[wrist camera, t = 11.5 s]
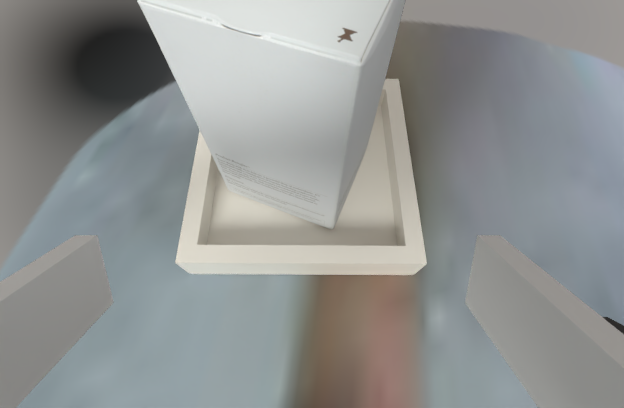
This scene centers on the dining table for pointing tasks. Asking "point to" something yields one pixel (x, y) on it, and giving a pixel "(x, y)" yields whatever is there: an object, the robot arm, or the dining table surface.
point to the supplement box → (281, 90)
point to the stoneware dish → (306, 235)
